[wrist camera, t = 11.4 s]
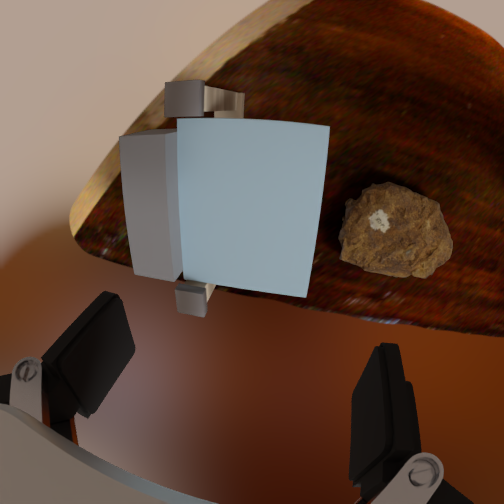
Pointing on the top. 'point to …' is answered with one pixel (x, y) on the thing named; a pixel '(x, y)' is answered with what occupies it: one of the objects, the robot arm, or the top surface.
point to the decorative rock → (394, 232)
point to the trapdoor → (225, 201)
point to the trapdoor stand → (195, 104)
